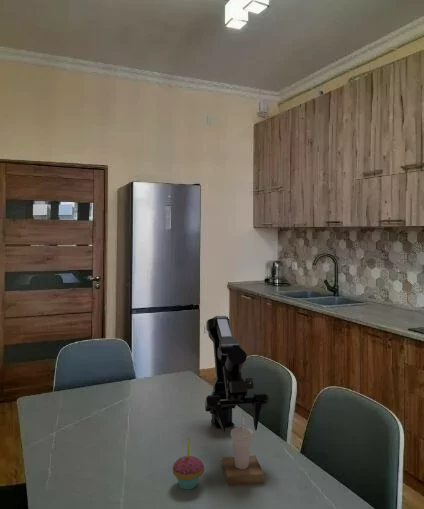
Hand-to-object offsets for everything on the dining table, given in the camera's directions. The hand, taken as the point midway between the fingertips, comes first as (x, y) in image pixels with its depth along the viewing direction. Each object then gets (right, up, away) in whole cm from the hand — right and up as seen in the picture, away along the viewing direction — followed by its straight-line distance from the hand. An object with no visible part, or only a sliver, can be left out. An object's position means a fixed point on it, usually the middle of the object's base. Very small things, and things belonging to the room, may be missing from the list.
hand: (240, 430), depth 122 cm
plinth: (0, -11, -2) cm, 12 cm away
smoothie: (0, -9, -2) cm, 9 cm away
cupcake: (-15, -12, -7) cm, 20 cm away
